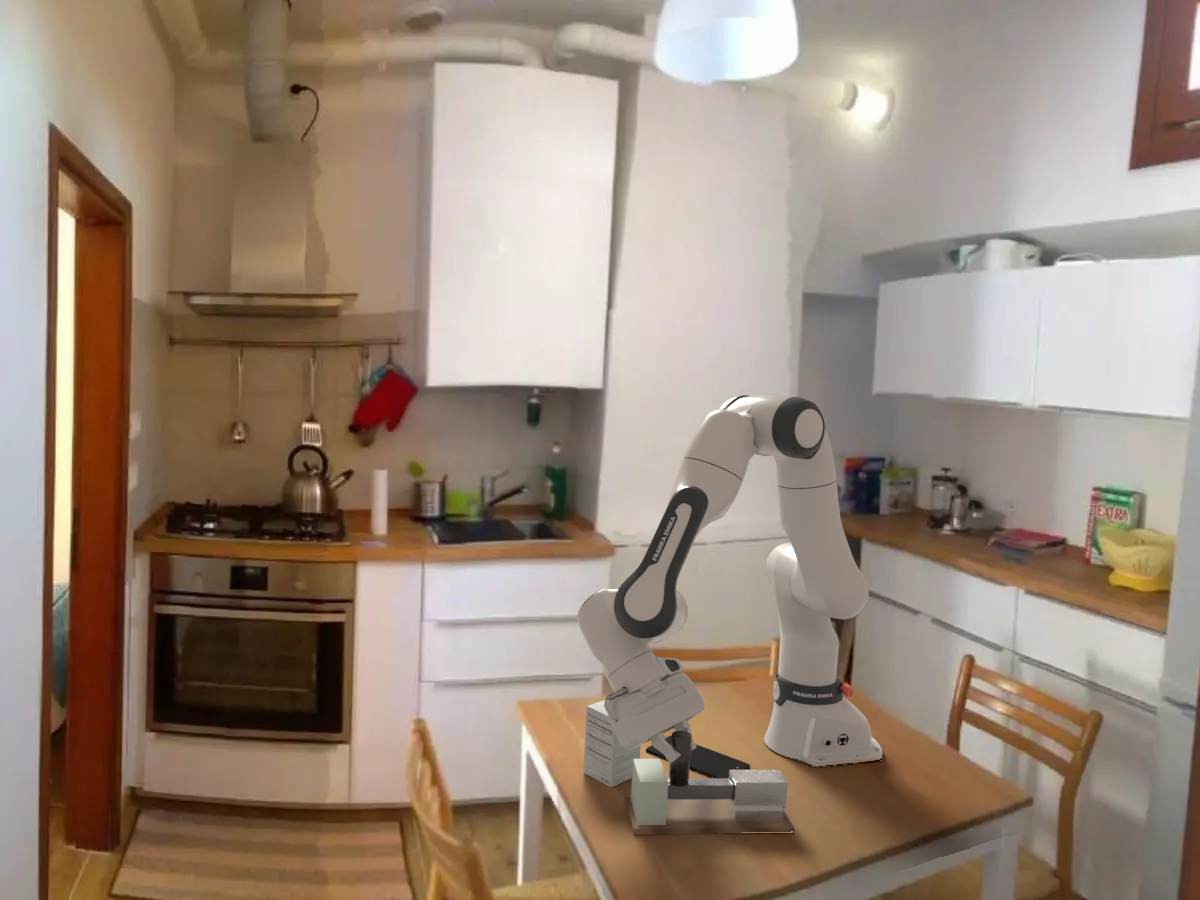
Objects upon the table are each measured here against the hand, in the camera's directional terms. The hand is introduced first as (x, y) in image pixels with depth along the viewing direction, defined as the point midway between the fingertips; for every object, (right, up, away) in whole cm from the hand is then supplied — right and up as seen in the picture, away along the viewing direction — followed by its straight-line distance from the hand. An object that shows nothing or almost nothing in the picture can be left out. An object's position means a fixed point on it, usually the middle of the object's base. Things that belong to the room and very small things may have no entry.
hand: (683, 755), depth 149 cm
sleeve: (+12, -10, +3) cm, 16 cm away
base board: (+4, -11, +2) cm, 12 cm away
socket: (-6, -10, +1) cm, 11 cm away
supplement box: (-12, -9, +16) cm, 21 cm away
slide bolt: (+2, -7, +2) cm, 7 cm away
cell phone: (+5, -9, +23) cm, 25 cm away
